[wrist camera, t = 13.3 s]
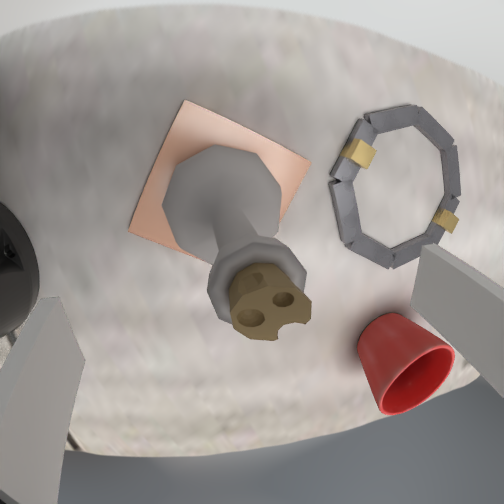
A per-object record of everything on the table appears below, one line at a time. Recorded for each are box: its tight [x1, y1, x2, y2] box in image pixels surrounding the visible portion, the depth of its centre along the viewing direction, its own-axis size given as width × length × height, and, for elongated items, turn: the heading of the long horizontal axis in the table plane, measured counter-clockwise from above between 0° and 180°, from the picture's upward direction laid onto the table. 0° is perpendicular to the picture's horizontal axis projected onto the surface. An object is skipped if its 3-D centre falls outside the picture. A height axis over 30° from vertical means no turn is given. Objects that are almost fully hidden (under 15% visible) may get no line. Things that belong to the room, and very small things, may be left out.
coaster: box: [128, 100, 312, 262], centre depth 26 cm, size 12×12×1 cm
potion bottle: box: [162, 144, 312, 341], centre depth 18 cm, size 9×9×18 cm
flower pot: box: [357, 313, 455, 415], centre depth 33 cm, size 11×11×10 cm
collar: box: [329, 105, 461, 269], centre depth 29 cm, size 17×17×2 cm
